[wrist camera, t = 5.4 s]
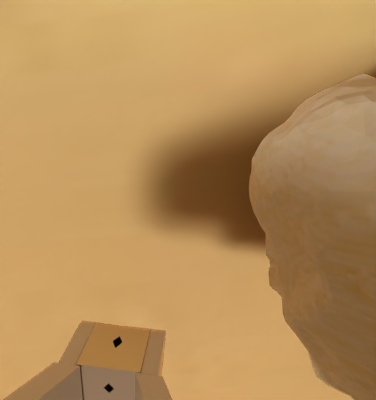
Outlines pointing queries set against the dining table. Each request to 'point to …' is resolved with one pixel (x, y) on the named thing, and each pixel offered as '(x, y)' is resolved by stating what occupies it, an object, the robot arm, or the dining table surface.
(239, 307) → the dining table surface
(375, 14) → the dining table surface
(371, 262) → the beige rough lump
